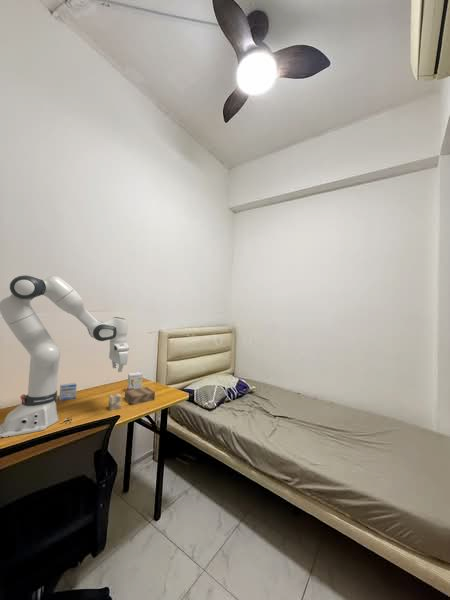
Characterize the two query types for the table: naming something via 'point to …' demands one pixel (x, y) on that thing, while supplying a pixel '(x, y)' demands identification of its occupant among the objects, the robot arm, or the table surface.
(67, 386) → the medicine box
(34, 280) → the robot arm
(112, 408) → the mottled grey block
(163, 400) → the table surface
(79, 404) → the table surface
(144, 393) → the walnut block
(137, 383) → the ink box
